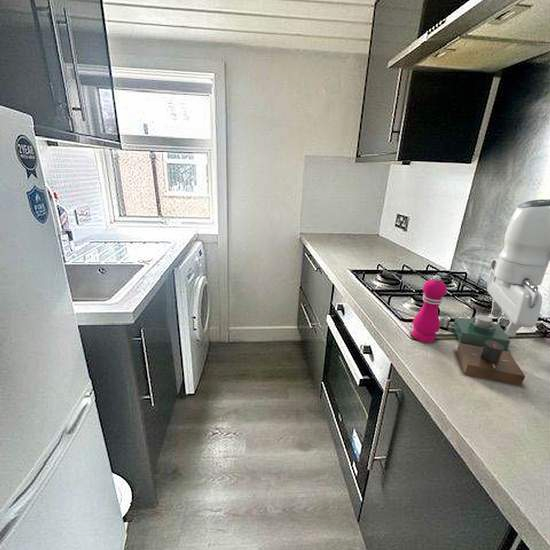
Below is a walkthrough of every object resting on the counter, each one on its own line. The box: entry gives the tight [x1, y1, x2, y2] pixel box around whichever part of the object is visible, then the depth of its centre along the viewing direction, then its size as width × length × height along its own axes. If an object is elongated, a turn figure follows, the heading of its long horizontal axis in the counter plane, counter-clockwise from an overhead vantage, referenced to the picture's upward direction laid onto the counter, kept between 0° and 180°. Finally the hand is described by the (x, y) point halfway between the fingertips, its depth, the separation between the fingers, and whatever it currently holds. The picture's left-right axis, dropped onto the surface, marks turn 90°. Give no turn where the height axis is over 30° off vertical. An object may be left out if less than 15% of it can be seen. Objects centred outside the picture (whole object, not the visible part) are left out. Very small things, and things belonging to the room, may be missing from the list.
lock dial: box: [481, 340, 504, 363], centre depth 76 cm, size 4×4×4 cm
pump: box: [475, 314, 493, 327], centre depth 90 cm, size 4×4×2 cm
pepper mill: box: [411, 274, 448, 343], centre depth 87 cm, size 7×7×20 cm
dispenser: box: [452, 316, 511, 352], centre depth 91 cm, size 12×10×5 cm
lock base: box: [456, 342, 526, 387], centre depth 78 cm, size 12×10×3 cm
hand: (501, 324), depth 74 cm, fingers open, 8 cm apart
